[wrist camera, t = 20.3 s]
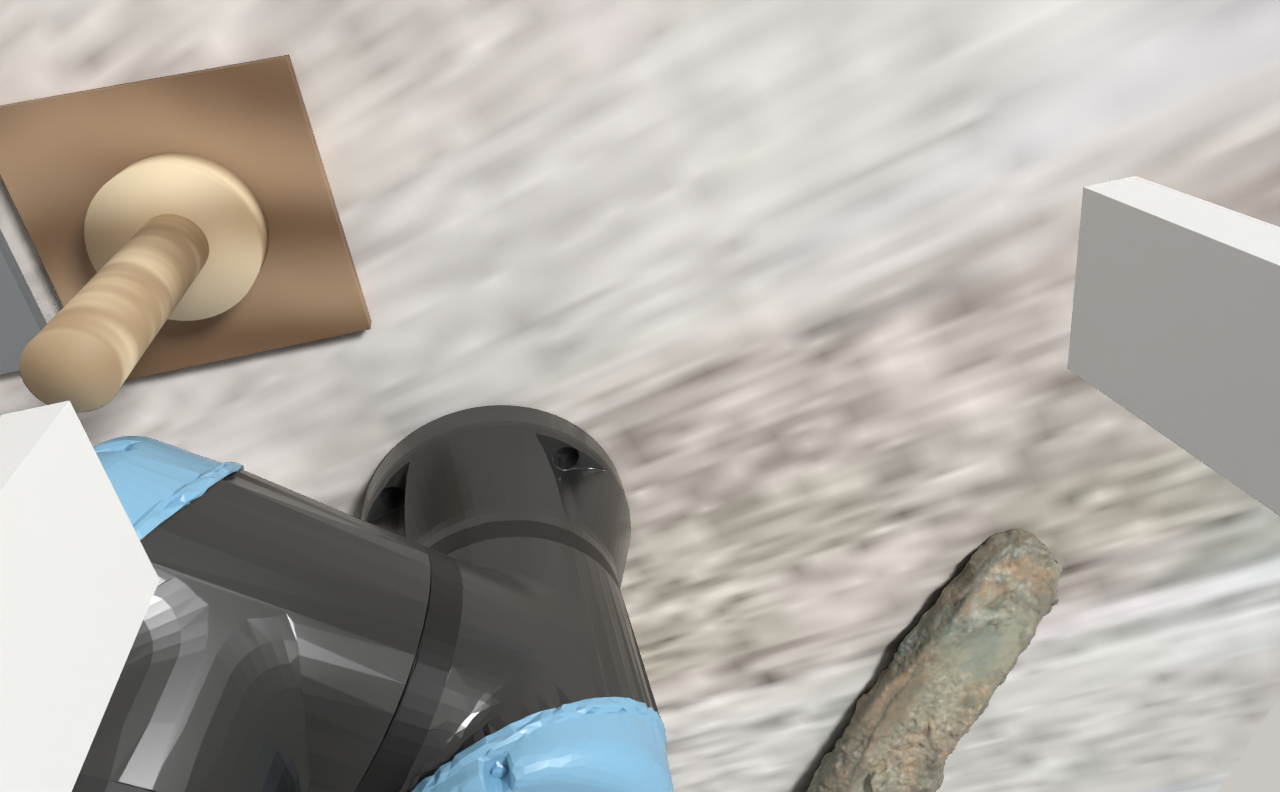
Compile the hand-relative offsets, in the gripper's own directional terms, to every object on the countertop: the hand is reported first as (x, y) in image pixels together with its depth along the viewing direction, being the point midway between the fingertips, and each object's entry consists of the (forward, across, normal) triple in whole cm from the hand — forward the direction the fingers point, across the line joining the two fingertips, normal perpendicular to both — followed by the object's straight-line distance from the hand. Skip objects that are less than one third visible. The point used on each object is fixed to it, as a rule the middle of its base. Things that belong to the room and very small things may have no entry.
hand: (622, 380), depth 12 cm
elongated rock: (+35, -20, +50) cm, 65 cm away
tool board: (+35, +15, +5) cm, 38 cm away
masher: (+34, +15, +5) cm, 37 cm away
